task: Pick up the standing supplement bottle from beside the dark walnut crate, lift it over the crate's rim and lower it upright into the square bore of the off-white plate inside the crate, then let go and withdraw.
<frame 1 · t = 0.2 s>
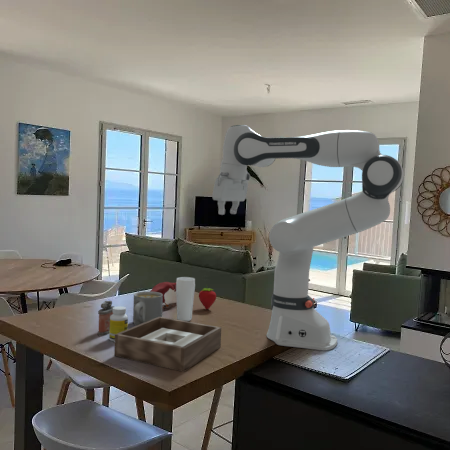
hand: (227, 214, 155), 39 cm above the table, tool pointing down, fingers open, 8 cm apart
drinking glass: (184, 320, 164), on the table
lighter: (106, 332, 146), on the table
strawberry: (207, 309, 180), on the table
decorative bird sculpture: (159, 308, 180), on the table
crate: (169, 351, 130), on the table
coffee mug: (144, 324, 157), on the table
supplement bottle: (118, 340, 139), on the table
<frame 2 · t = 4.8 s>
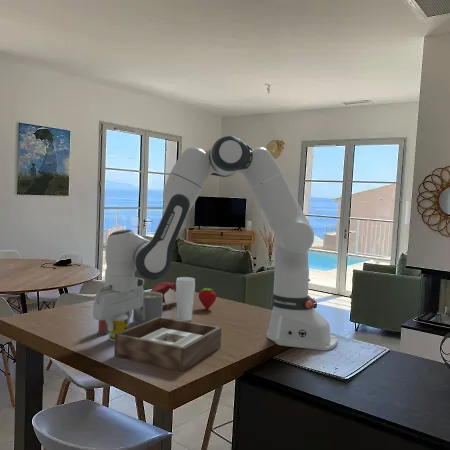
hand: (118, 327, 139), 4 cm above the table, tool pointing down, fingers closed on supplement bottle, 5 cm apart
supplement bottle: (118, 340, 139), on the table, touching gripper
everything else where it was.
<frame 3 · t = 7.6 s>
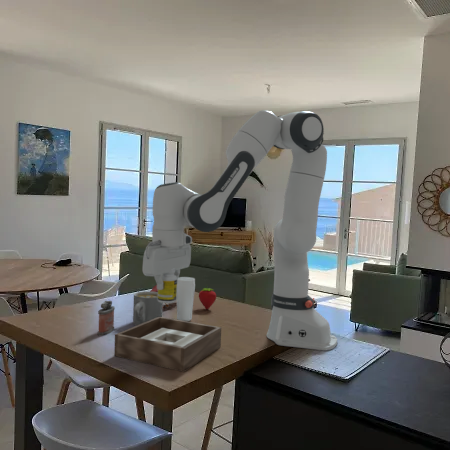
hand: (167, 287, 130), 18 cm above the table, tool pointing down, fingers closed on supplement bottle, 5 cm apart
supplement bottle: (167, 302, 131), point 14 cm above the table, touching gripper
everything else where it was.
when the fingers open (6 cm above the table, at t = 10.6 s): supplement bottle stays where it is, resting on crate.
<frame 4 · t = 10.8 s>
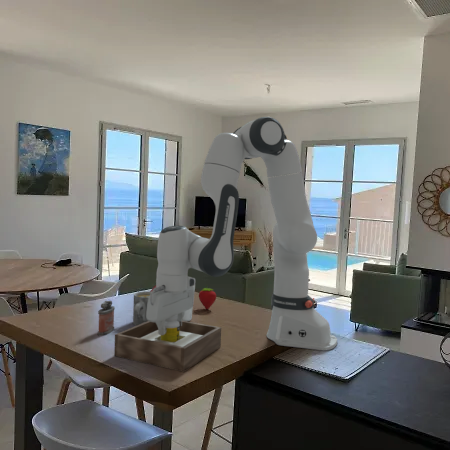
hand: (170, 330, 130), 6 cm above the table, tool pointing down, fingers open, 7 cm apart
supplement bottle: (169, 348, 130), point 1 cm above the table, touching crate
everything else where it was.
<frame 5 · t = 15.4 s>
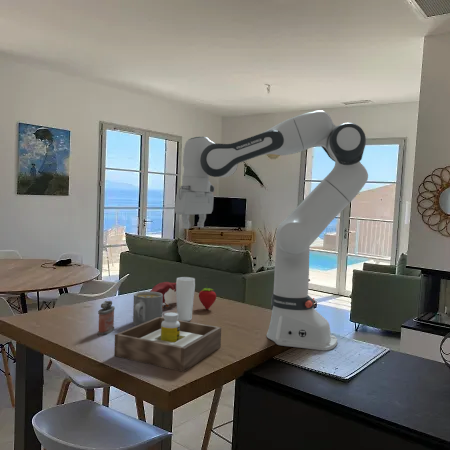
hand: (193, 227, 151), 34 cm above the table, tool pointing down, fingers open, 8 cm apart
nothing on the table moved.
at the end: supplement bottle 0.2 cm off-centre on the crate, point 0.8 cm above the crate's base; supplement bottle tilted 0°; the gripper is holding nothing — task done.
